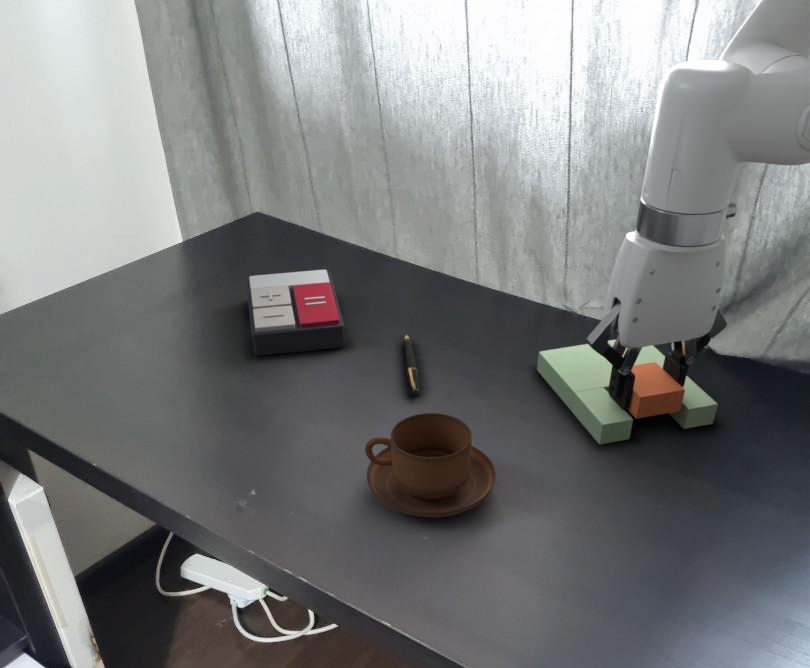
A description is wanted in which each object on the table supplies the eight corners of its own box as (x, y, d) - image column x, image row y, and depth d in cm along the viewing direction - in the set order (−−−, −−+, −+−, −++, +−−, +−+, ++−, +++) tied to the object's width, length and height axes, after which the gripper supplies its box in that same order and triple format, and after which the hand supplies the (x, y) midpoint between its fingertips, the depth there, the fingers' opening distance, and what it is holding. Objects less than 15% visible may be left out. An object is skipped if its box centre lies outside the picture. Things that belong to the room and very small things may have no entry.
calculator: (250, 328, 96) (244, 271, 107) (255, 361, 99) (249, 302, 110) (344, 319, 97) (329, 264, 108) (346, 351, 100) (331, 294, 111)
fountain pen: (401, 339, 102) (401, 328, 101) (411, 339, 102) (410, 328, 101) (410, 400, 91) (410, 388, 90) (421, 400, 91) (421, 388, 90)
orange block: (650, 382, 89) (655, 361, 87) (680, 411, 84) (685, 389, 83) (608, 389, 88) (612, 368, 86) (635, 418, 83) (640, 397, 81)
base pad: (638, 353, 98) (641, 334, 96) (712, 423, 86) (718, 404, 85) (536, 370, 95) (538, 351, 94) (599, 444, 84) (602, 424, 82)
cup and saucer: (376, 536, 73) (373, 480, 69) (361, 459, 82) (357, 406, 78) (508, 522, 74) (512, 466, 70) (479, 447, 83) (481, 394, 79)
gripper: (739, 197, 78) (697, 369, 90) (574, 217, 75) (553, 393, 87) (788, 225, 73) (736, 403, 85) (613, 247, 69) (584, 430, 81)
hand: (644, 396), depth 86 cm, fingers closed on orange block, 5 cm apart
